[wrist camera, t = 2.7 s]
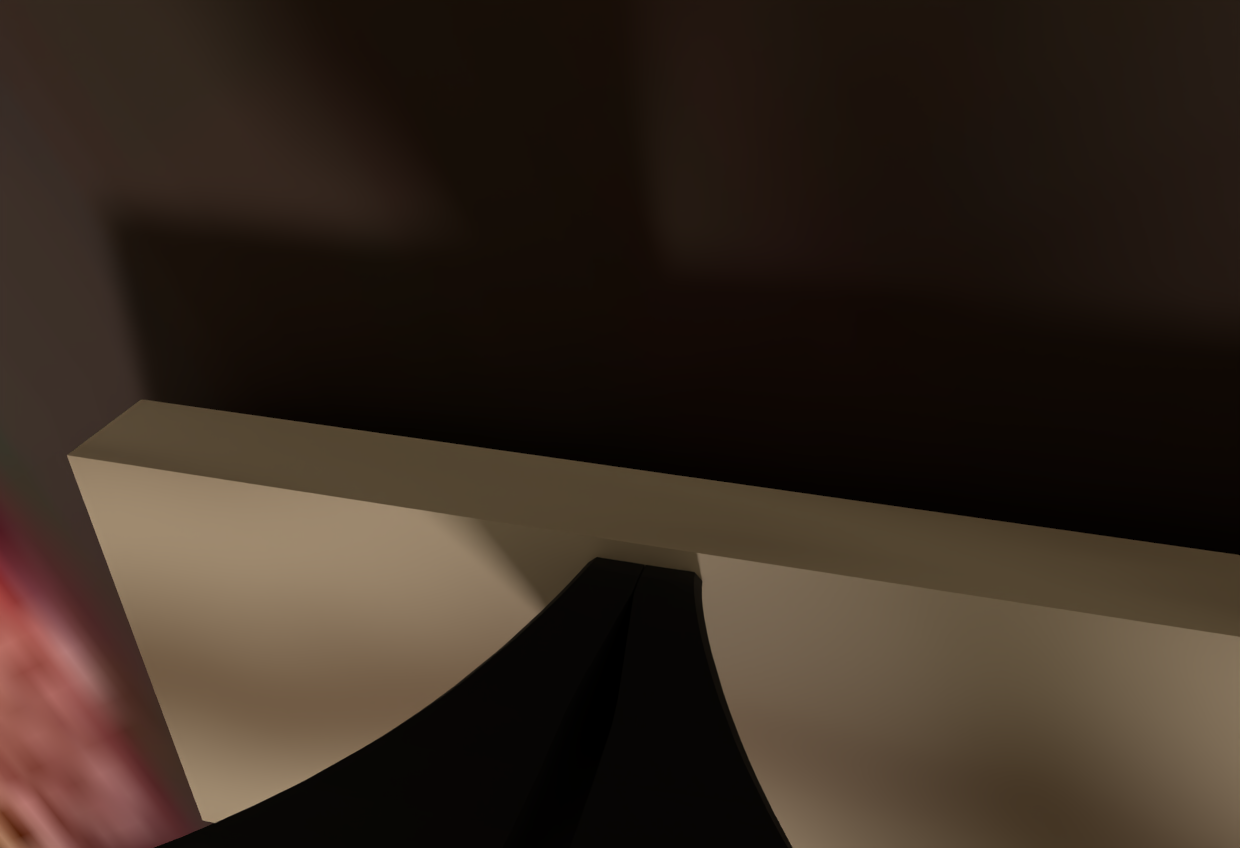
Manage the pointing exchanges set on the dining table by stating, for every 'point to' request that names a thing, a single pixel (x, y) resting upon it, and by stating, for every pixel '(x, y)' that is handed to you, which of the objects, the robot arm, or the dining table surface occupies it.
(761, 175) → the dining table surface
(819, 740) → the oak plank
